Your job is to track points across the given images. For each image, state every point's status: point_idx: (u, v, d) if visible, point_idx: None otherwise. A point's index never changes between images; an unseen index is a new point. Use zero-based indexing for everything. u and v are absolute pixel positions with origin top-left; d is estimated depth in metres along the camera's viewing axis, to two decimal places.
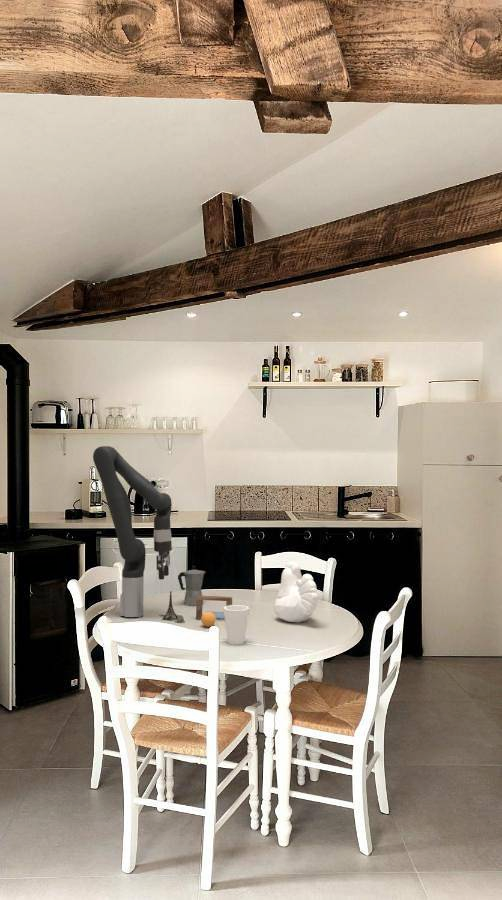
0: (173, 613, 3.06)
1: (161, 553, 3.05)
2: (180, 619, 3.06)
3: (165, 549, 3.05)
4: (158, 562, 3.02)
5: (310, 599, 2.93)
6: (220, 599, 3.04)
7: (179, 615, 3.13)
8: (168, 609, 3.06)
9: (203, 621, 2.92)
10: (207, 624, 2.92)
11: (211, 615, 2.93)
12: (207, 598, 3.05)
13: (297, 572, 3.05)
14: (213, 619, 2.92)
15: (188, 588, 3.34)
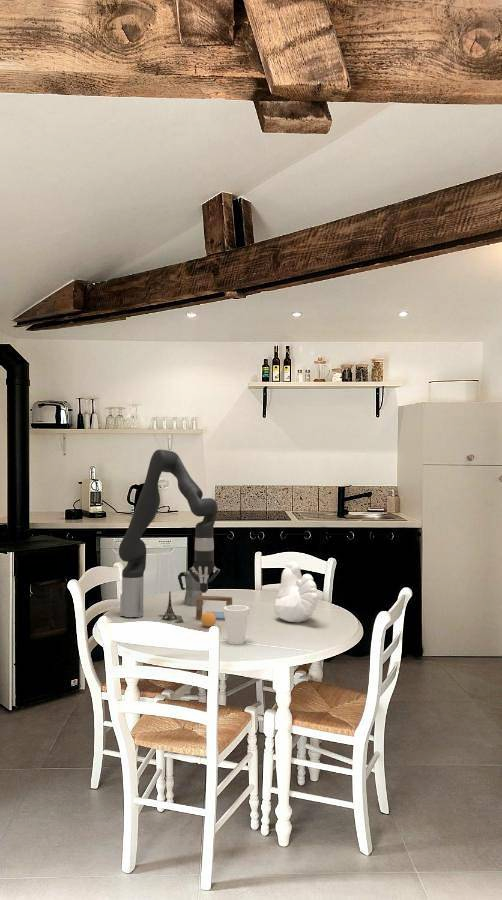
0: (172, 613, 3.06)
1: (213, 562, 2.84)
2: (179, 619, 3.05)
3: None
4: None
5: (310, 599, 2.93)
6: (220, 599, 3.04)
7: (178, 615, 3.13)
8: (167, 609, 3.06)
9: (203, 621, 2.92)
10: (207, 624, 2.92)
11: (211, 615, 2.93)
12: (207, 598, 3.05)
13: (297, 572, 3.05)
14: (213, 619, 2.92)
15: (188, 588, 3.34)
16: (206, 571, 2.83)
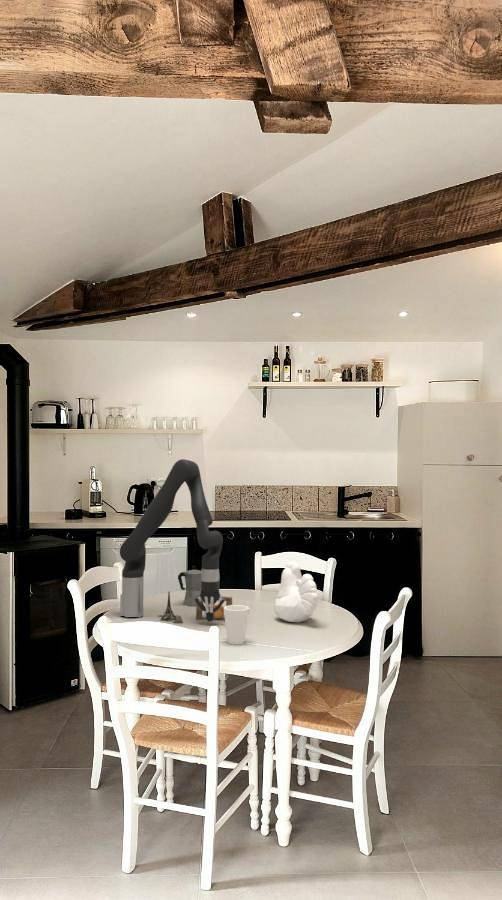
0: (171, 613, 3.05)
1: None
2: (178, 619, 3.05)
3: None
4: (220, 605, 2.96)
5: (310, 599, 2.93)
6: None
7: (178, 615, 3.12)
8: (166, 609, 3.06)
9: None
10: None
11: (221, 616, 3.07)
12: None
13: (297, 572, 3.05)
14: None
15: (188, 588, 3.34)
16: (212, 601, 2.95)
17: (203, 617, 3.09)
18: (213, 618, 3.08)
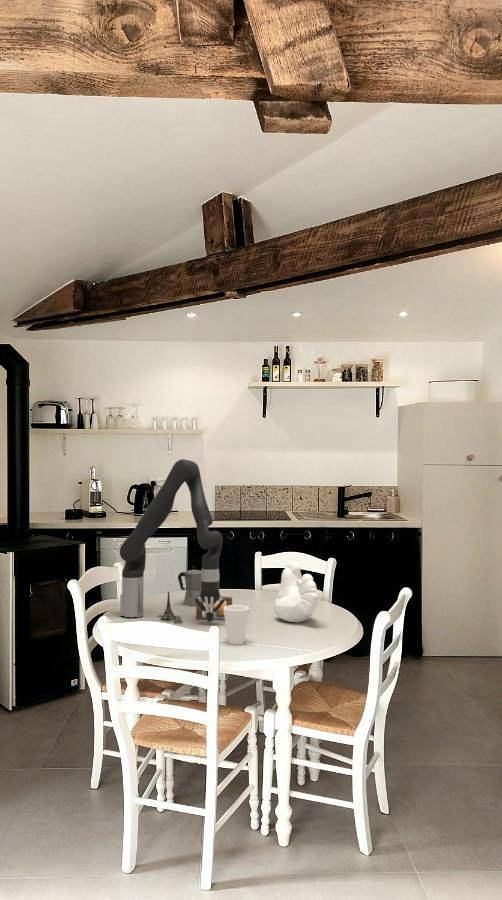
0: (171, 614, 3.05)
1: None
2: (178, 620, 3.05)
3: None
4: (220, 605, 2.96)
5: (310, 599, 2.93)
6: None
7: (177, 616, 3.12)
8: (166, 609, 3.05)
9: (216, 613, 3.11)
10: (220, 615, 3.11)
11: None
12: None
13: (297, 572, 3.05)
14: None
15: (188, 588, 3.34)
16: (212, 601, 2.95)
17: (203, 617, 3.09)
18: (213, 618, 3.08)
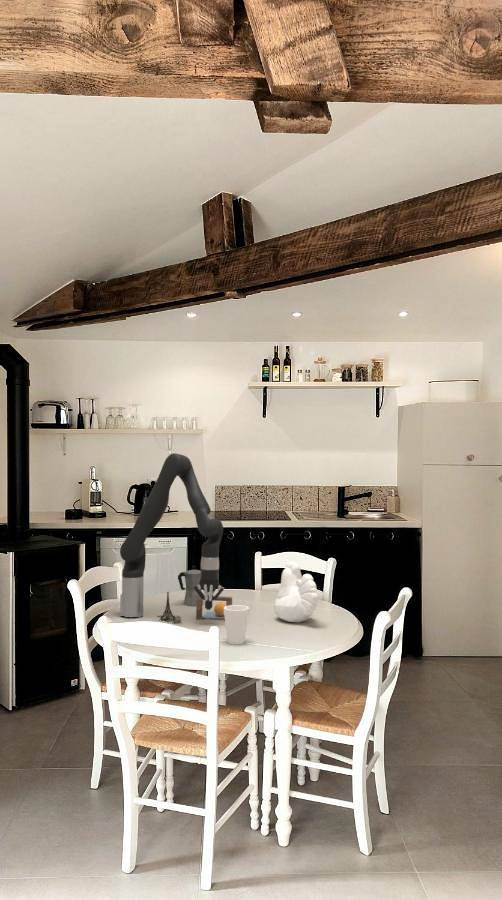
0: (170, 614, 3.05)
1: (218, 580, 2.96)
2: (177, 620, 3.04)
3: None
4: (219, 594, 2.96)
5: (310, 599, 2.93)
6: (220, 599, 3.04)
7: (177, 616, 3.12)
8: (165, 610, 3.05)
9: (216, 613, 3.11)
10: (220, 615, 3.11)
11: None
12: None
13: (297, 572, 3.05)
14: None
15: (188, 588, 3.34)
16: (211, 589, 2.95)
17: (203, 617, 3.09)
18: (213, 618, 3.08)
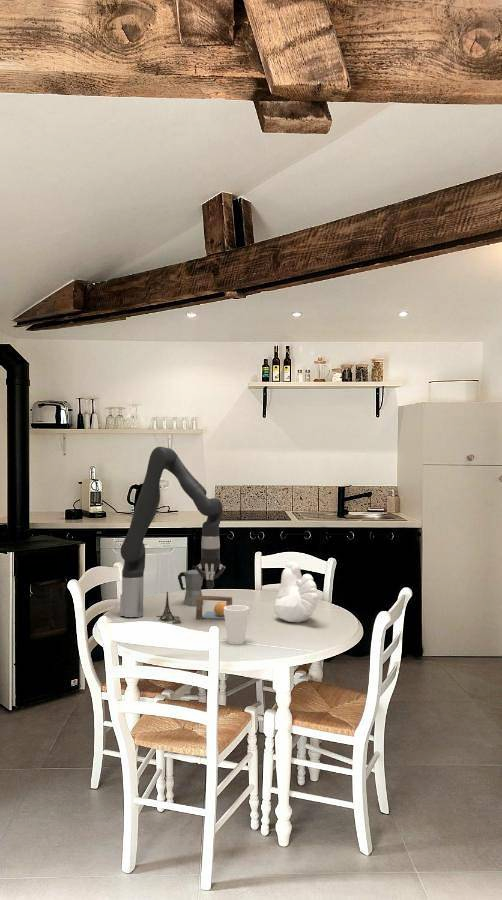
0: (170, 614, 3.05)
1: (219, 559, 2.97)
2: (177, 620, 3.04)
3: None
4: None
5: (310, 599, 2.93)
6: (220, 599, 3.04)
7: (176, 616, 3.12)
8: (165, 610, 3.05)
9: (216, 613, 3.11)
10: (220, 615, 3.11)
11: None
12: (207, 598, 3.05)
13: (297, 572, 3.05)
14: None
15: (188, 588, 3.34)
16: (212, 568, 2.95)
17: (203, 617, 3.09)
18: (213, 618, 3.08)
